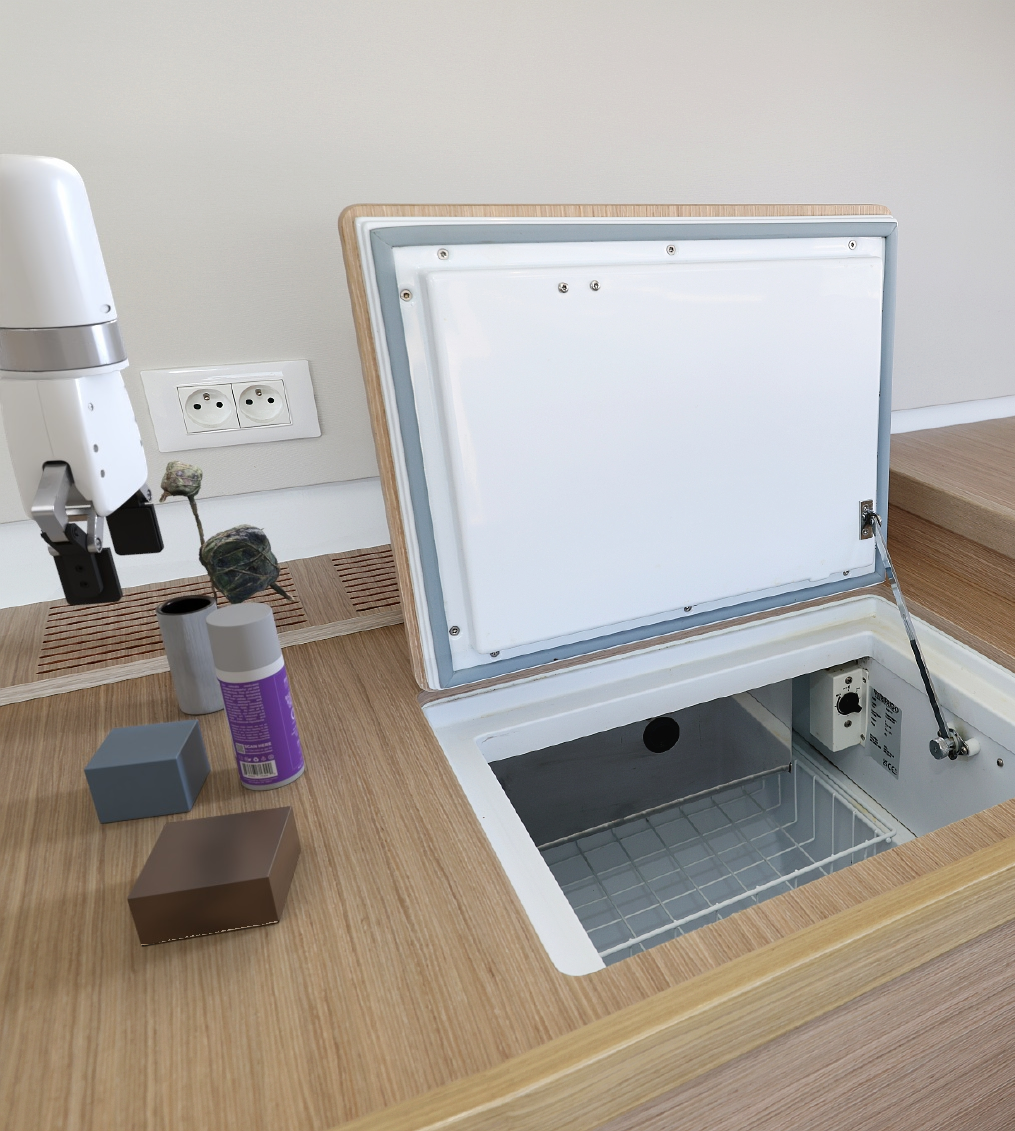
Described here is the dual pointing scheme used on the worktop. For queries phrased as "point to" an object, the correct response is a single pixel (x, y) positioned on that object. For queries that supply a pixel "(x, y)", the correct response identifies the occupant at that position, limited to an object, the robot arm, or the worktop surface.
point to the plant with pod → (227, 545)
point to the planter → (190, 652)
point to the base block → (216, 875)
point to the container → (255, 695)
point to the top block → (148, 771)
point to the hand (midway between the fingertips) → (119, 576)
